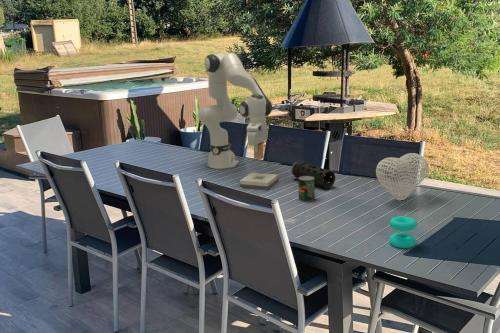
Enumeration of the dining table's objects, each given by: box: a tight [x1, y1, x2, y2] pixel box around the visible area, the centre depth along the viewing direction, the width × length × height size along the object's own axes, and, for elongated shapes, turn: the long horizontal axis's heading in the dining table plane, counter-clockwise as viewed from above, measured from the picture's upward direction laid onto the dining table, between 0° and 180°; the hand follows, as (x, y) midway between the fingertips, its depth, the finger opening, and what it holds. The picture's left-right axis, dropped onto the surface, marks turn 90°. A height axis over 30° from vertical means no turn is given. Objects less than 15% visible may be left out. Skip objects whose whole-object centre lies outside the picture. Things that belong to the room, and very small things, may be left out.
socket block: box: [239, 172, 279, 191], centre depth 287 cm, size 17×16×4 cm
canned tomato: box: [297, 176, 316, 203], centre depth 258 cm, size 8×8×11 cm
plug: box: [253, 142, 265, 160], centre depth 282 cm, size 4×4×10 cm
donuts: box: [388, 215, 418, 249], centre depth 199 cm, size 10×10×10 cm
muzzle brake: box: [290, 161, 336, 190], centre depth 285 cm, size 10×28×10 cm, turn 32°
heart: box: [375, 152, 430, 202], centre depth 250 cm, size 28×16×22 cm, turn 122°
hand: (258, 150), depth 283 cm, fingers closed on plug, 4 cm apart
